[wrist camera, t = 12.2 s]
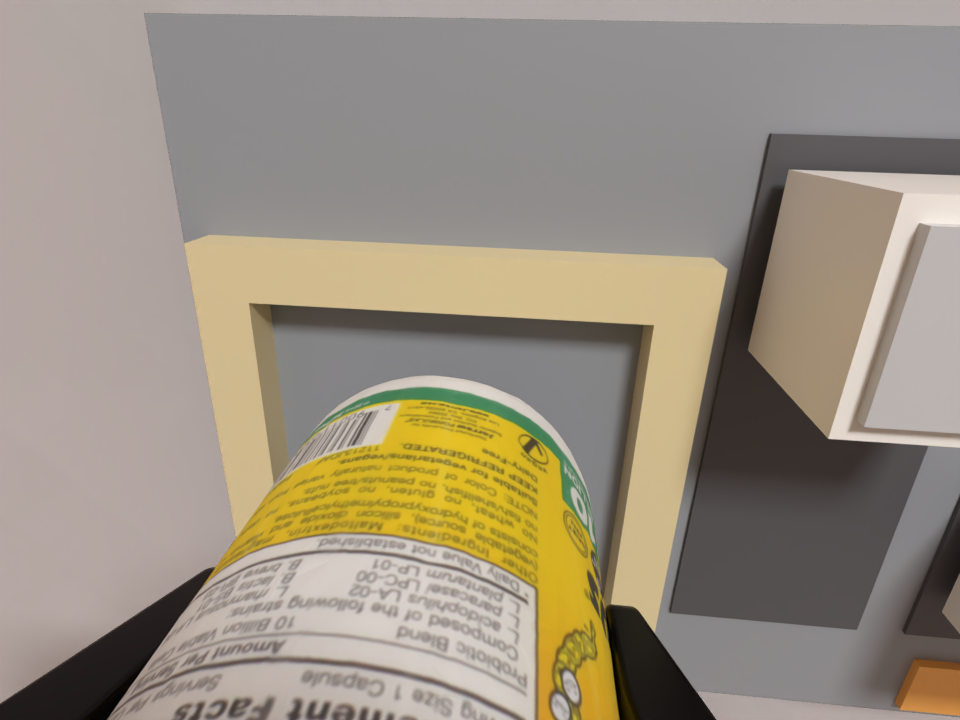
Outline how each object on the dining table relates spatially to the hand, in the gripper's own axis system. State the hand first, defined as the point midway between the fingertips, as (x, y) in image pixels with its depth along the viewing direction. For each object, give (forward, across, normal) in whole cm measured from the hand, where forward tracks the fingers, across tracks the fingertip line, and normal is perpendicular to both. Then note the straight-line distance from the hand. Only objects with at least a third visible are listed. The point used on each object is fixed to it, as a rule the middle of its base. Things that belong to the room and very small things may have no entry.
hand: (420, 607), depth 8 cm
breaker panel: (+5, -5, -1) cm, 7 cm away
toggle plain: (+3, -7, -4) cm, 9 cm away
